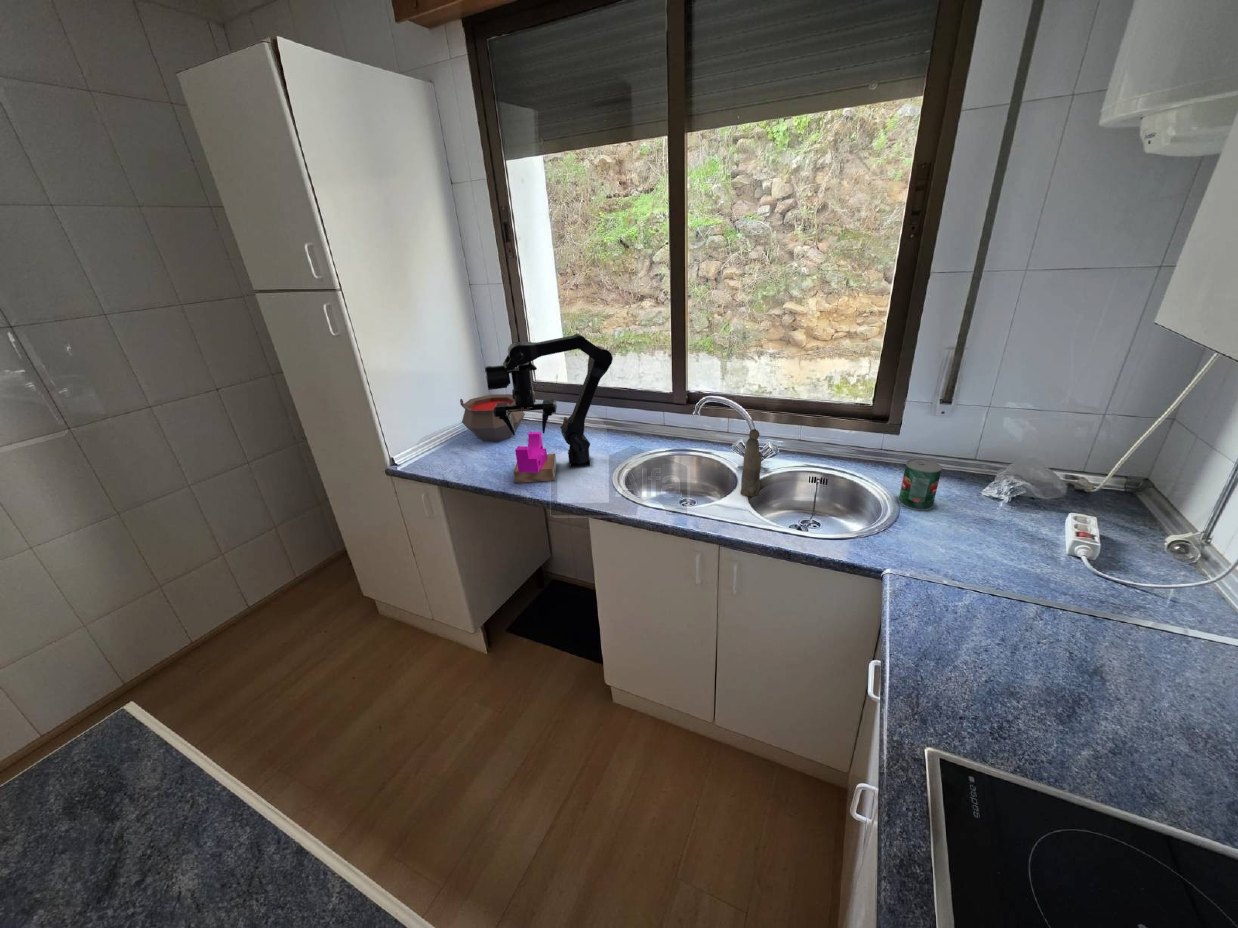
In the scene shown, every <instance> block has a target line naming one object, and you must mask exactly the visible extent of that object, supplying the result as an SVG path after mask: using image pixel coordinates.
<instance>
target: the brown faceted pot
mask: <svg viewBox="0 0 1238 928" xmlns="http://www.w3.org/2000/svg"><path fill="white" fill-rule="evenodd" d="M459 402H460V403H459V404H460V406H461V407H462V408H463V409H464V412H463V417H462V420H461V423H462V424H463V425H464V426H465V427H466V428H467V429H468V430H469V431H470V432H471V433H472V434H473V435H474V436H475V437H476V438H478V439H479V440H480V441H482V442H484V443H486V442H487V443H497V442H502V441H504V440H509V439H511V438H512V437H513V436H514V435H513V434H512V432H511V430H510V429H509V427H508V426H507V424H506V423H505V422H504V421H503V419H499V417H495V416H494V407H495V406H496V404H497V403H506V402H508V403H509V406H512V405H516V404H515V400H514V399H513V396H512V394H511V393H501V394H494V393H493V394H487V395H482V396H478V397H477V396H476V397H473V398H470V399H469V400H467V401H466V402H464V399H462V398H460V399H459ZM525 415H526V413H525V411H516V412H511V416H512V421H513V425H514V429H515V433H516V432H517V430H518V428H519V426H520V424H521V422H522V421H523V419H524V417H525Z"/></svg>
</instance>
